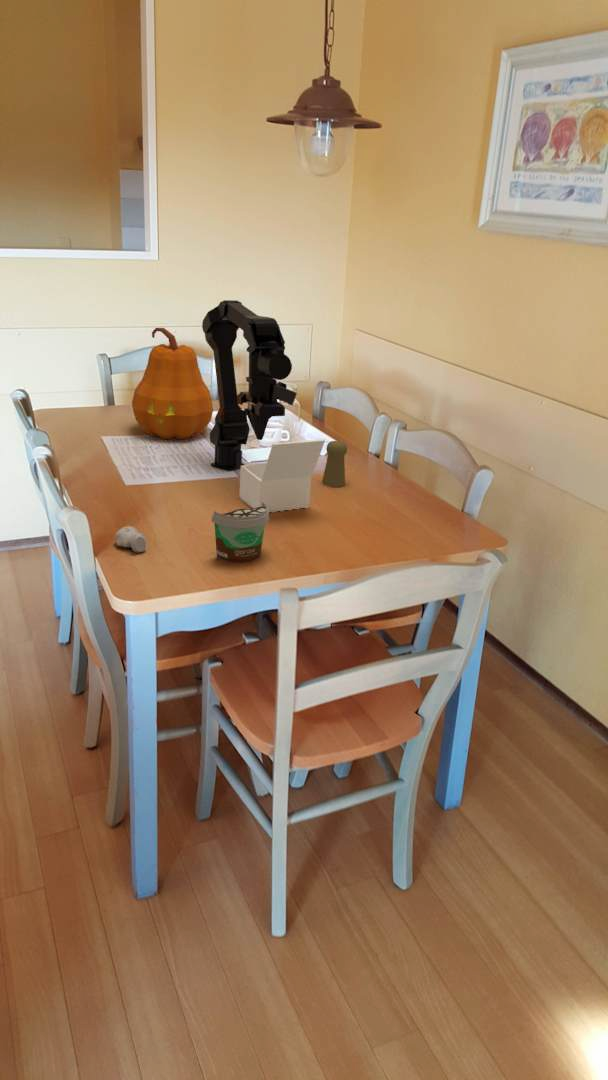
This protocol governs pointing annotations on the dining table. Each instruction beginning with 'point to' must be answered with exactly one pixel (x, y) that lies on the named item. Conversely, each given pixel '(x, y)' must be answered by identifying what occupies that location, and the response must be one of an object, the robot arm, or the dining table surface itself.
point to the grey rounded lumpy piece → (131, 539)
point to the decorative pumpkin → (172, 392)
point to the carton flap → (292, 459)
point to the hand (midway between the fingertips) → (259, 439)
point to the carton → (273, 490)
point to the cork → (335, 464)
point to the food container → (240, 534)
